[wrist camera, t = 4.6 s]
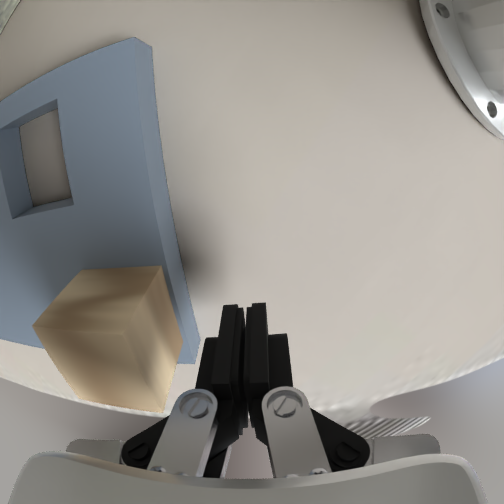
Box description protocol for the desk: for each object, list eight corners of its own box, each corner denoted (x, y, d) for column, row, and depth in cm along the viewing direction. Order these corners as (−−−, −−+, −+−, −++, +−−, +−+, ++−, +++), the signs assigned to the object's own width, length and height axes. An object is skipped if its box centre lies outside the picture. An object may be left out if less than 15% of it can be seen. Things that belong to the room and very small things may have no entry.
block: (161, 265, 12) (122, 334, 8) (183, 341, 14) (163, 413, 10) (81, 269, 12) (31, 325, 8) (110, 338, 14) (79, 398, 10)
